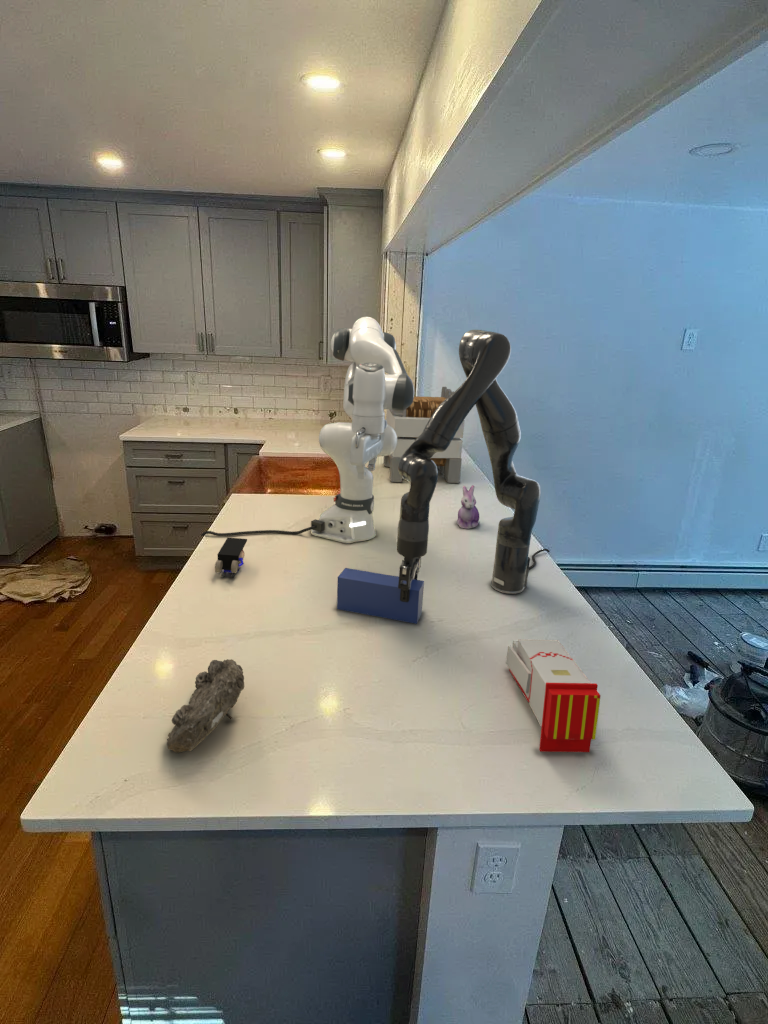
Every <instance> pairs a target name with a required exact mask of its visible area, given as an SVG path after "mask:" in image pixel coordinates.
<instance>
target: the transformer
mask: <svg viewBox="0 0 768 1024" xmlns="http://www.w3.org/2000/svg"><path fill="white" fill-rule="evenodd" d="M454 392H455V390H454V391H453V390H452V389H451V388H447V386H442V387H441V392H440V393H441V394H440V396H415V395H414V399H413V403H412V404H411V405H410V406H409V407H408V408H407V409H405V410H404V411H398V410H393V409H386V413H385V420H386V421H387V424H388V425H389V426H391V427H392V428H393V429H394V431H395V432H396V435H397V446H396V448H395V450H394V451H393V453H392V454H391V455H387V456H383V466H384V467H388V468H389V475H388V476H389V477H388V478H389V480H390V482H391V483H402V482H403V478H402V477H401V476H400V474H399V471H398V466H399V462H400V459H401V457H402V455H403V454H404V452H405V451H406V450H407V449H408V448H409V447H410V445H411V444H412V443H413V442H414V441H415V440H416V439H417V438H418V437H419V436H420V435H421V434H422V432H423V430H424V428H425V426H426V425H427V423H428V421H429V419H430V418H431V416H432V414H433V413H434V411H435V410H436V409H437V407H438V406H439V405H440V404H441V403H442V402H443V401H444V400H445V399H447V398H448V397H449V396H450V395H451V394H452V393H454ZM464 429H465V419H464V421H463V422H462V424H461V425H460V427H459V429H458V431H457V432H456V434H455V436H454V438H453V439H452V441H451V443H450V445H449V446H448V448H447V449H446V450H445V451H444V452H437V453H435V454H434V455H433V456H432V457H431V459H430V460H432V461H433V462H434V463H435V464H436V466H437V470H438V469H439V471H438V472H439V473H440V474H441V475H443V478H444V479H445V481H446V482H447V483H449V484H455V483H456V484H459V483H461V472H462V461H463V460H462V453H463V442H464V441H463V440H462V439H463V438H464V431H465V430H464Z"/></svg>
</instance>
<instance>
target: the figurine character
mask: <svg viewBox="0 0 768 1024" xmlns="http://www.w3.org/2000/svg"><path fill="white" fill-rule="evenodd" d="M247 542H248V538H240V537H226V539H225V541H224V543H223V544H222V546H221V547H220V549H219V551H218V552H217V560H216V562H215V564H214V572H215V573H221V577H222V578H224V577H225V576H226V574H227V573H230V574H231V573H232V574H231V578H234V577H235V575H236V573H237V572H239V571H240V567H242V566H243V565H244V564H245V562H244V558H245V551H244V547H245V546H246V544H247Z"/></svg>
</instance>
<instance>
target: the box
mask: <svg viewBox="0 0 768 1024" xmlns="http://www.w3.org/2000/svg"><path fill="white" fill-rule="evenodd" d="M403 583H404V584H407V582H406V581H404V582H403ZM398 584H399V575H398V576H397V575H392V574H386V573H380V572H373V571H367V570H362V569H356V568H349V567H344V568H343V570H342V571H341V572H340V573H339V575H338V576H337V583H336V586H337V589H336V596H337V597H336V609H337V610H340V611H345V612H350V613H355V614H361V615H367V616H372V617H378V618H382V619H388V620H393V621H399V622H403V623H409V624H415V625H418V622H419V620H420V618H421V616H422V614H423V605H424V591H425V580H421V579H417V580H416V579H414V580H413V581H412V582H411V588H410V597H409V602H402V601H400V592H401V589H398Z"/></svg>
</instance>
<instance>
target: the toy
mask: <svg viewBox="0 0 768 1024" xmlns="http://www.w3.org/2000/svg"><path fill="white" fill-rule="evenodd" d="M505 659H506V660H505V665H506V666H507V667H508V671H509V673H510V674H511V676H512V678H513V679H514V681H515V682H516V685H517V686H518V688H519V690H520V691H521V692H522V694H523V697H525V699H526V701H527V703H529V707H530V709H531V711H532V712H533V714H534V716H535V718H536V720H537V722H538V724H539V726H540V728H541V729H540V739H539V748H538V751H539V752H540V753H543V752H544V753H590V752H591V744H592V743H591V742H592V740H596V736H597V727H598V720H599V719H598V718H599V710H600V704H601V703H600V702H601V696H602V695H601V694H600V693H599V692H598V687H599V686H598V683H595V682H594V683H592V682H591V681H590V679H589V678H588V677H587V676H586V674H585V673H584V671H583V670H582V669H581V668H580V666H579V665H578V664H577V663H576V662H575V661H576V660H574V659H573V658H572V656H571V655H570V653H568V651H567V650H566V648H565V647H564V645H563V644H562V643H561V642H560V641H559V639H529V638H528V639H524V638H521V639H517V640H512V645H511V644H510V645H509V644H508V646H507V653H506V658H505Z"/></svg>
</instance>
